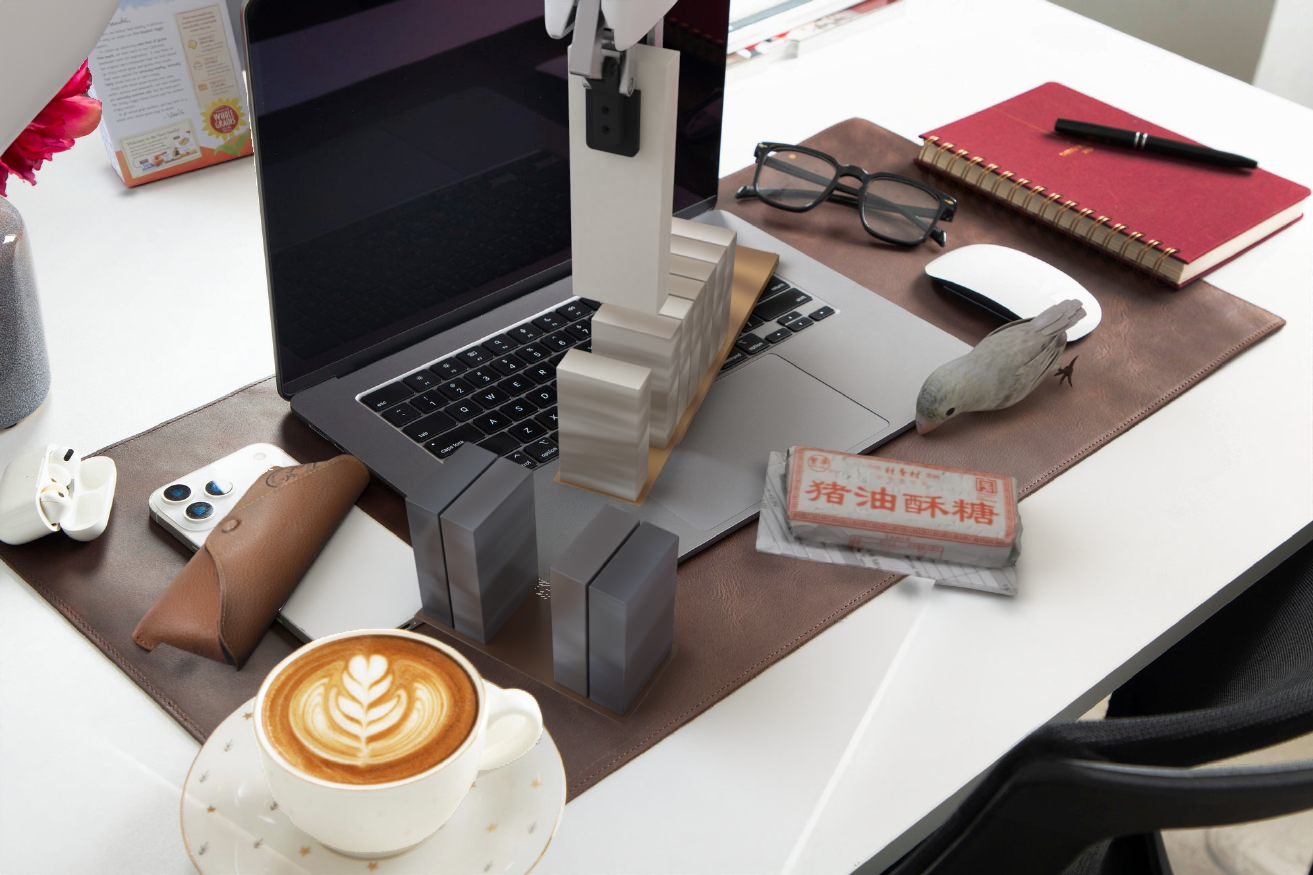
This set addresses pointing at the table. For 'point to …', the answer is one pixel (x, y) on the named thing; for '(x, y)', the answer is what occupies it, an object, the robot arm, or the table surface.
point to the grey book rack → (581, 584)
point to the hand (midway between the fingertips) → (622, 137)
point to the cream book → (626, 193)
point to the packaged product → (892, 517)
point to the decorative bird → (999, 367)
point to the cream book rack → (655, 365)
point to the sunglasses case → (253, 561)
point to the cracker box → (169, 88)
